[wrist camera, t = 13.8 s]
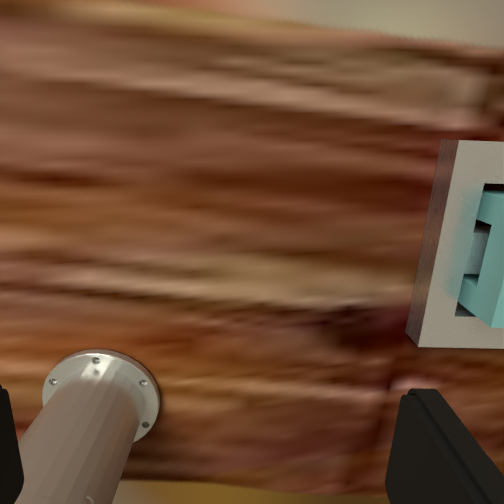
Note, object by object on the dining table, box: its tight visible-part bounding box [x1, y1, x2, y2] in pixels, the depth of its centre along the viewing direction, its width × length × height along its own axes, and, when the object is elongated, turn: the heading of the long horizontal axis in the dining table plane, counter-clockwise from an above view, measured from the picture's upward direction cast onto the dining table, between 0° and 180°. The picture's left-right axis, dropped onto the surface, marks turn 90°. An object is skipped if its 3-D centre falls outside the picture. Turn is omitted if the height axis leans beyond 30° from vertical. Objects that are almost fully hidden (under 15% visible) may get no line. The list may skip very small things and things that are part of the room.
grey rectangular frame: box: [406, 140, 504, 349], centre depth 36 cm, size 20×12×3 cm, turn 178°
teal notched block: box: [458, 190, 504, 328], centre depth 34 cm, size 11×4×7 cm, turn 178°
